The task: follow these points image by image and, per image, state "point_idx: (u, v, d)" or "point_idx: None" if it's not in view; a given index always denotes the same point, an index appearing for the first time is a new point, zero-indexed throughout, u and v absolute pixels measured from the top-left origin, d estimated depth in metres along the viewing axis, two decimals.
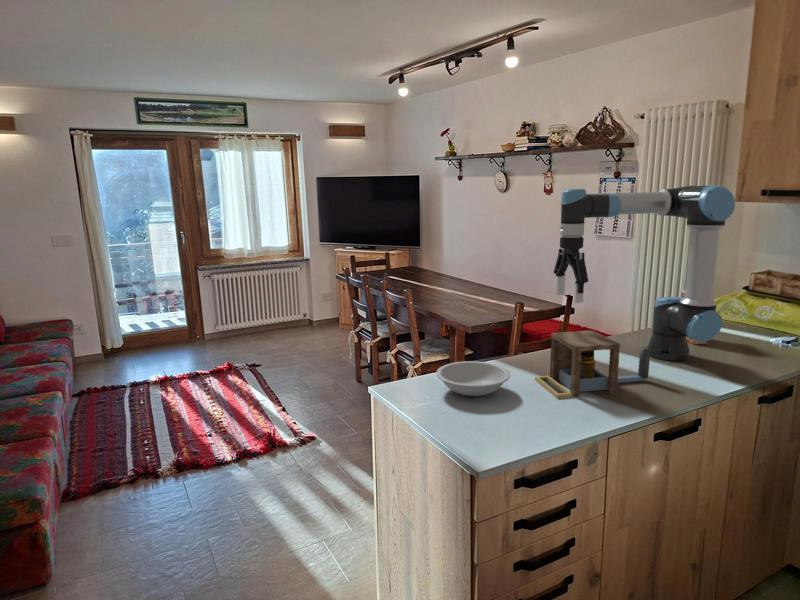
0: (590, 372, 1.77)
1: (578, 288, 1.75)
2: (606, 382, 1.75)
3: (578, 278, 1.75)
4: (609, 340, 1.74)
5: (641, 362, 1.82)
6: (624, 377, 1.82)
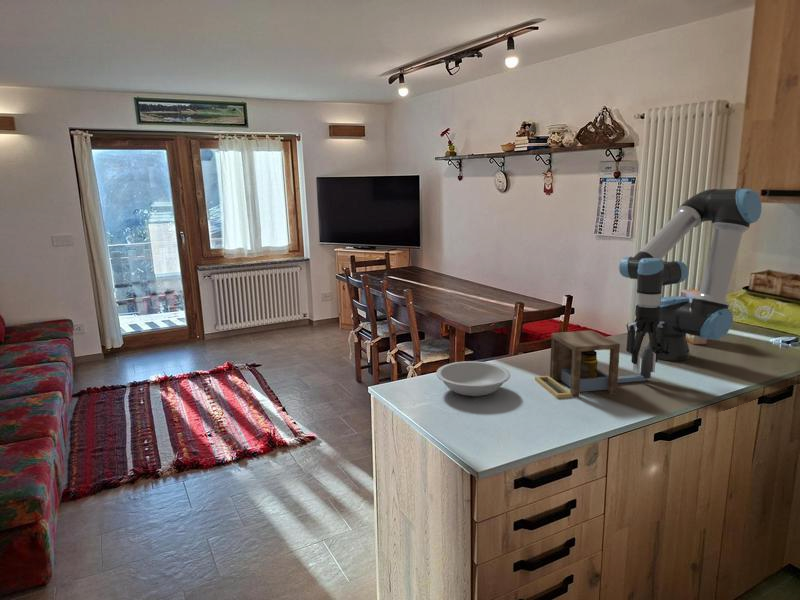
0: (592, 372, 1.77)
1: None
2: None
3: None
4: (609, 340, 1.74)
5: (643, 362, 1.82)
6: (626, 377, 1.82)
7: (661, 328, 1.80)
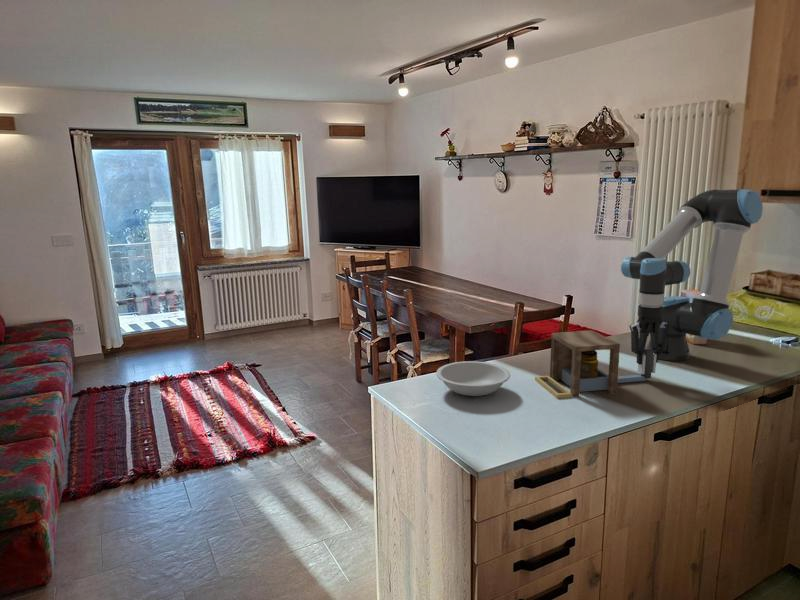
0: (593, 372, 1.77)
1: None
2: None
3: None
4: (609, 340, 1.74)
5: None
6: (627, 377, 1.82)
7: (663, 328, 1.80)
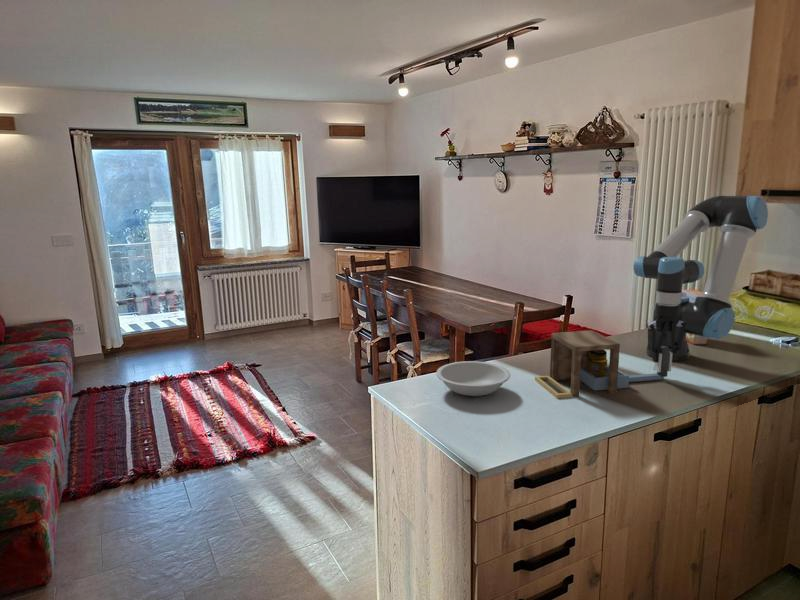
0: (602, 371, 1.78)
1: None
2: (626, 380, 1.76)
3: None
4: (609, 340, 1.74)
5: None
6: (643, 375, 1.83)
7: (680, 327, 1.81)
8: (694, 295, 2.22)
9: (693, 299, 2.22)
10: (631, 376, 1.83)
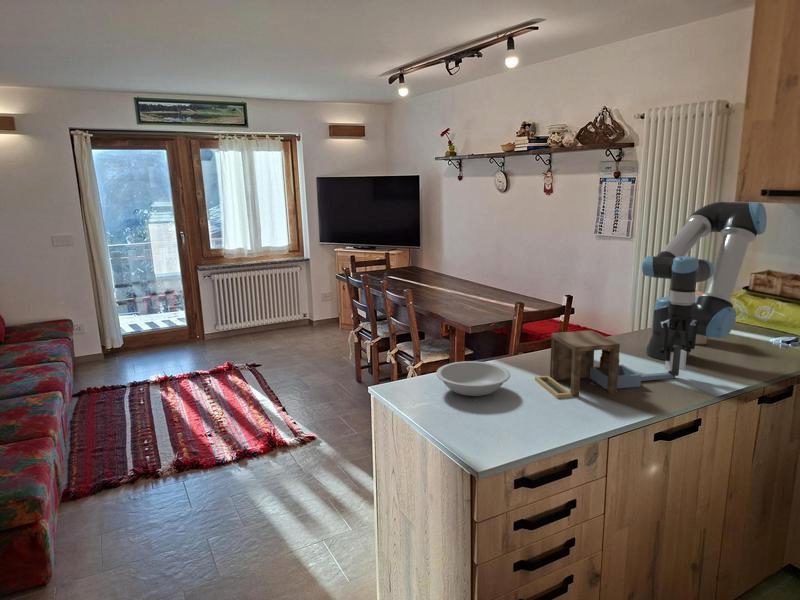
0: None
1: None
2: (638, 379, 1.77)
3: None
4: (609, 340, 1.74)
5: None
6: (655, 374, 1.84)
7: (693, 326, 1.82)
8: None
9: None
10: (643, 375, 1.83)
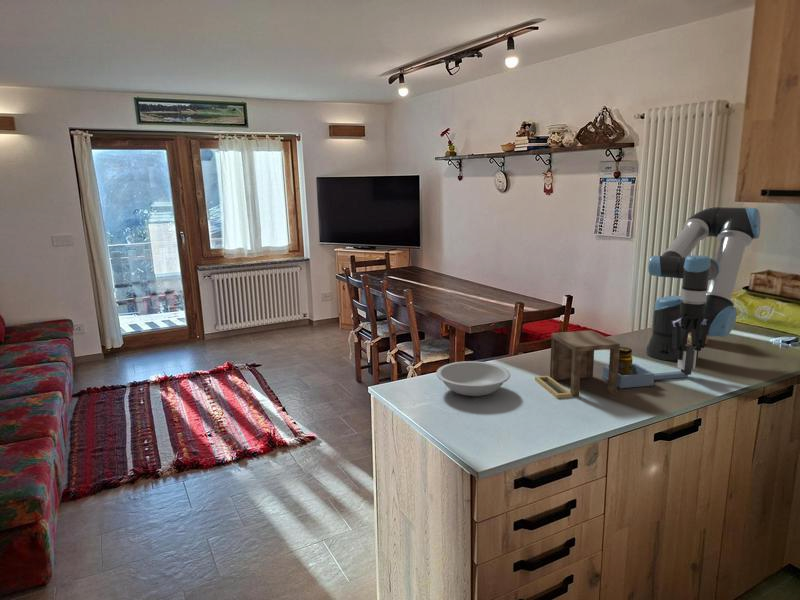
0: (628, 369, 1.79)
1: None
2: (651, 378, 1.78)
3: None
4: (609, 340, 1.74)
5: None
6: (668, 373, 1.85)
7: (704, 325, 1.83)
8: None
9: None
10: (655, 374, 1.84)
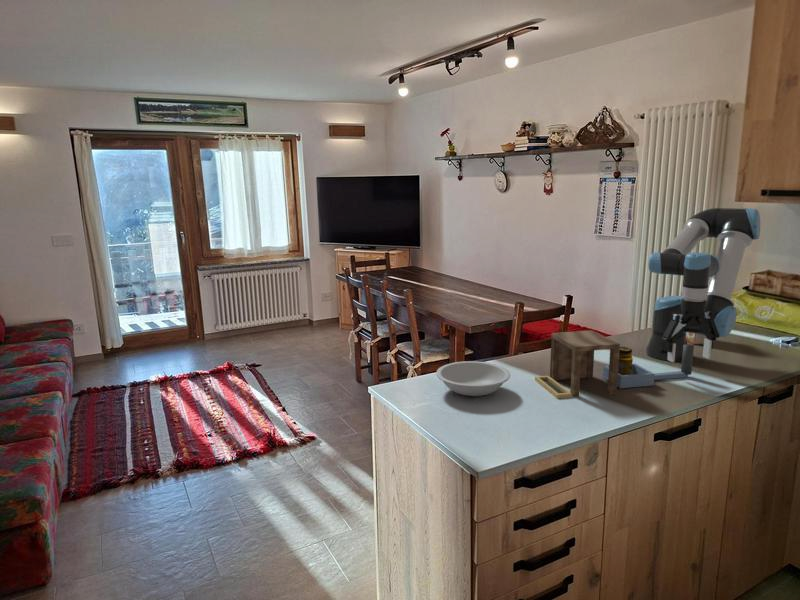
0: (628, 369, 1.79)
1: None
2: (652, 378, 1.78)
3: None
4: (609, 340, 1.74)
5: (684, 359, 1.84)
6: (668, 373, 1.85)
7: (709, 318, 1.83)
8: None
9: None
10: (656, 374, 1.84)
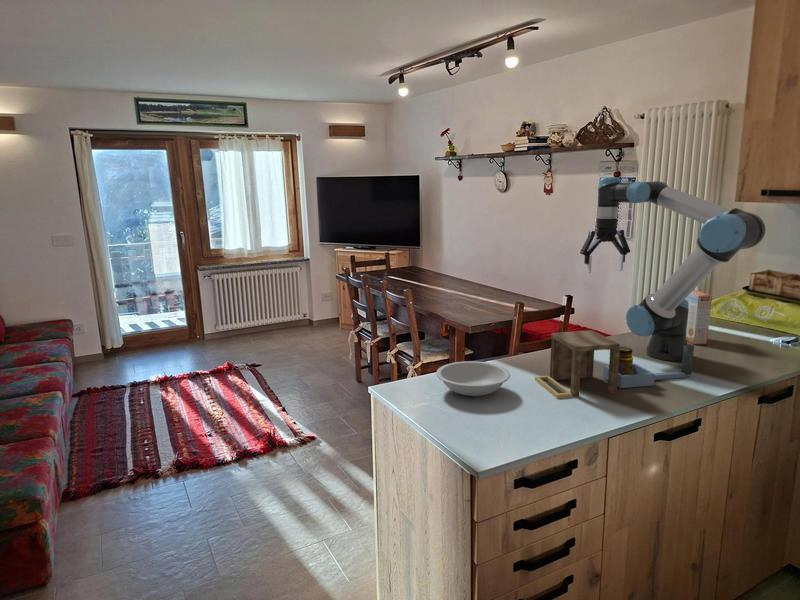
0: (628, 369, 1.79)
1: None
2: (652, 378, 1.78)
3: None
4: (609, 340, 1.74)
5: (685, 359, 1.84)
6: (668, 373, 1.85)
7: (620, 235, 2.12)
8: (694, 295, 2.22)
9: (693, 299, 2.22)
10: (656, 374, 1.84)
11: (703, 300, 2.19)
